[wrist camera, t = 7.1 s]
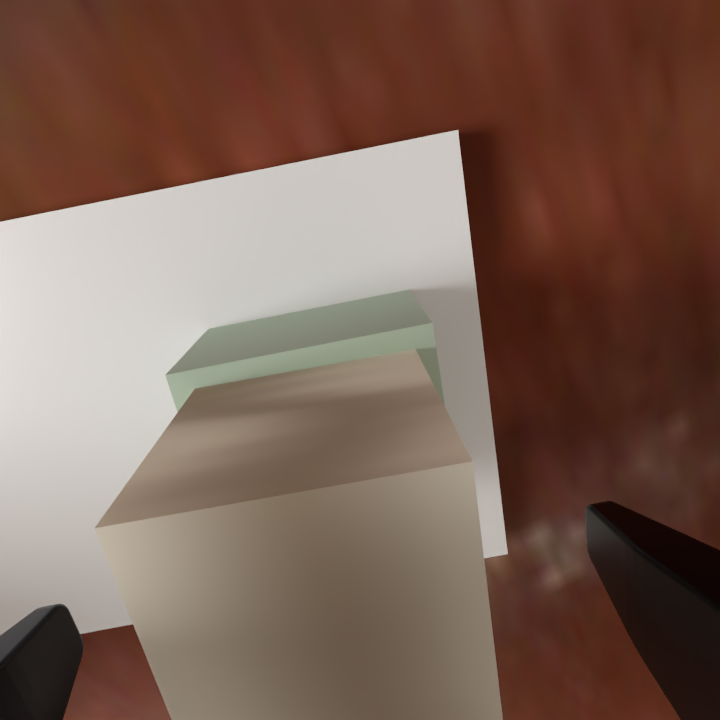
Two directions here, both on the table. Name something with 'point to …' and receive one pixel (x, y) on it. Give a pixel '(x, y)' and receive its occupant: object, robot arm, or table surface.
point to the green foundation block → (307, 342)
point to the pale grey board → (192, 319)
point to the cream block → (310, 552)
